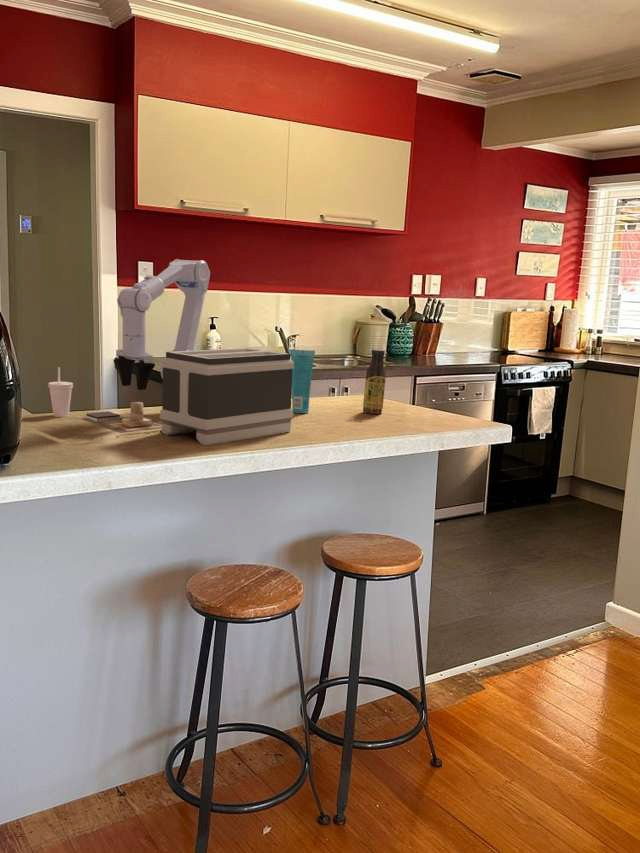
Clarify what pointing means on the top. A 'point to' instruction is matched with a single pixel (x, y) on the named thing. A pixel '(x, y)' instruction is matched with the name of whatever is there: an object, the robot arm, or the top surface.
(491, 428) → the top surface
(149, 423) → the stamp
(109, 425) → the board
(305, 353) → the tube
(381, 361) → the sauce bottle
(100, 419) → the ink pad
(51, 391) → the smoothie
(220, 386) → the toaster
